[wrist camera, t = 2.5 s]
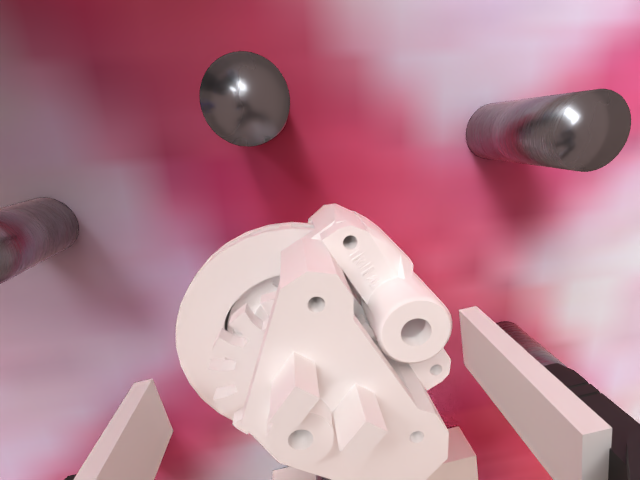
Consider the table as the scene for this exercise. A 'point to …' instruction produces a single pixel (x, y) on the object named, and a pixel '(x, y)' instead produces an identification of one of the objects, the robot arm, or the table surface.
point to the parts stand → (452, 476)
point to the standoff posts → (271, 116)
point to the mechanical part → (321, 347)
